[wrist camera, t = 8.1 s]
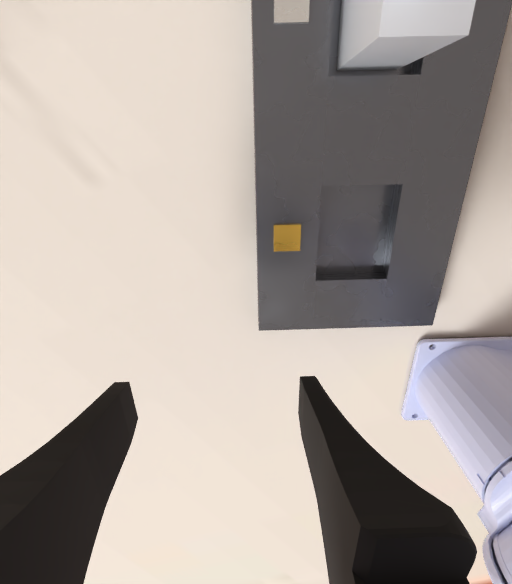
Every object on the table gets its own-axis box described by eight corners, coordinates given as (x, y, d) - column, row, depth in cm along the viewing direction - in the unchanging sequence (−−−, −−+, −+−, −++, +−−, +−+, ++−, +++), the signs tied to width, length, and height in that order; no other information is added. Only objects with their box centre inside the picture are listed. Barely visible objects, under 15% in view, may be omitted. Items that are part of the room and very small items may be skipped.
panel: (536, -192, 13) (574, -236, 12) (421, 314, 24) (434, 326, 22) (247, -188, 13) (246, -231, 12) (258, 319, 23) (259, 332, 22)
